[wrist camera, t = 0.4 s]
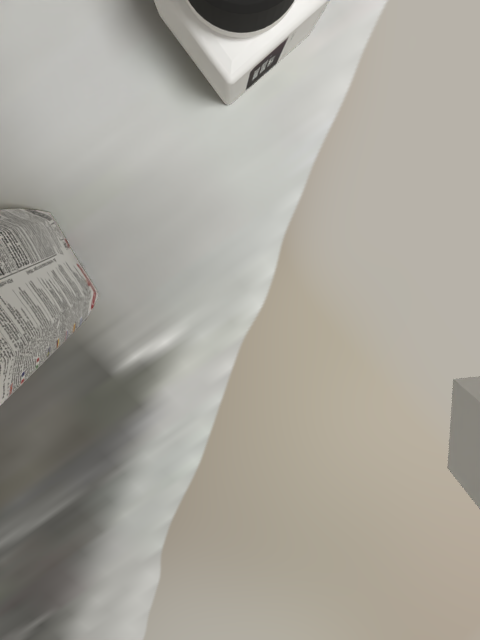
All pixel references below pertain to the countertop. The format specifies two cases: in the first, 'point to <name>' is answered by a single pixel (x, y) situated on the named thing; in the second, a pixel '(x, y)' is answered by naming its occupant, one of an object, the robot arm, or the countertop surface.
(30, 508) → the countertop surface
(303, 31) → the container
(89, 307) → the juice carton
